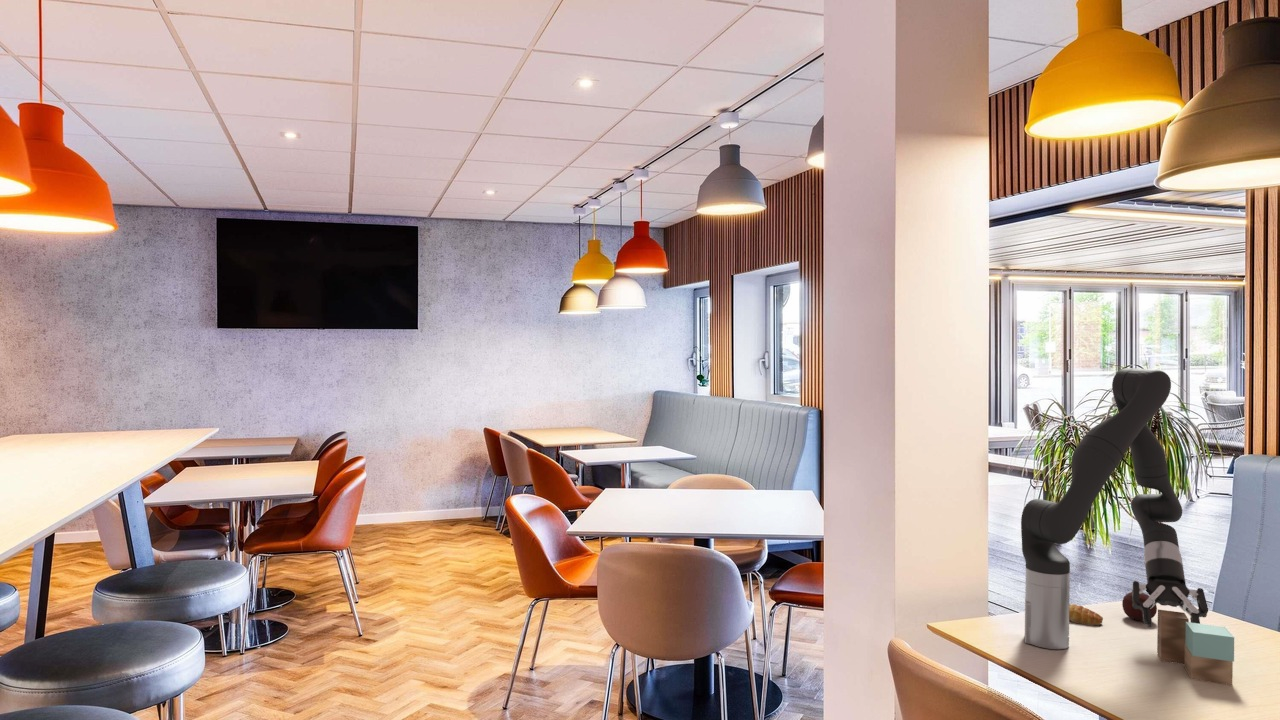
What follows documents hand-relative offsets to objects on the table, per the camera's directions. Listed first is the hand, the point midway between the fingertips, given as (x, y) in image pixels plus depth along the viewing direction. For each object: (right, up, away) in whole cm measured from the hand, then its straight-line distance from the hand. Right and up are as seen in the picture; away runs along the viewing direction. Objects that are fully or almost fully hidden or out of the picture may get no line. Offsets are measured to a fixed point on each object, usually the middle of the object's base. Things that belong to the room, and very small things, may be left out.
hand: (1172, 628), depth 175 cm
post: (-1, -7, -1) cm, 7 cm away
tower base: (+1, -7, -10) cm, 12 cm away
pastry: (-7, -7, +25) cm, 27 cm away
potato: (+9, -7, +26) cm, 28 cm away
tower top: (+1, -2, -10) cm, 10 cm away
